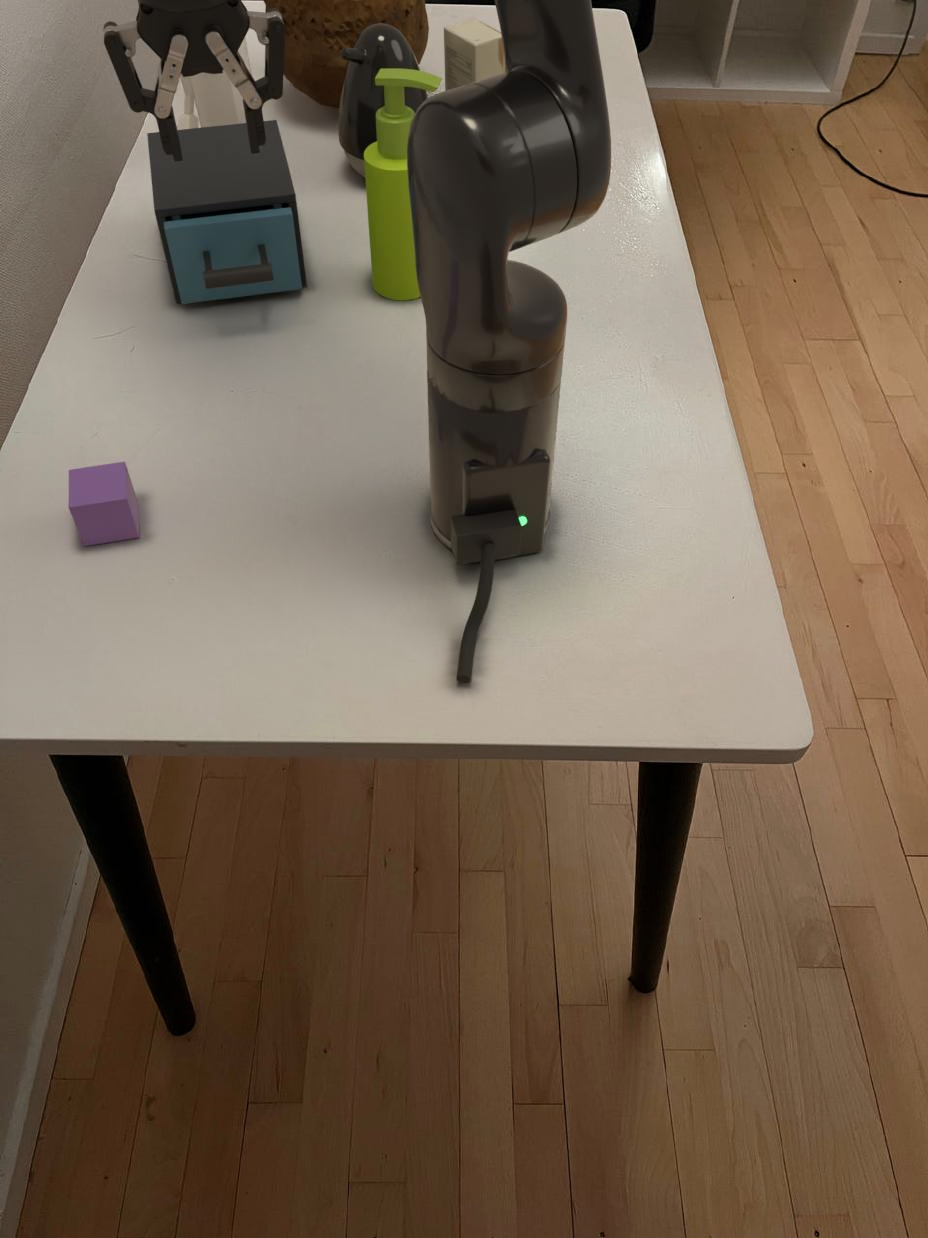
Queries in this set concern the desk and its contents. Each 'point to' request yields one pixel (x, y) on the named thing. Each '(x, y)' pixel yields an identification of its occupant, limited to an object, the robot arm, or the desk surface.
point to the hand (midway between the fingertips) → (216, 151)
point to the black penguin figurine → (371, 87)
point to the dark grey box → (220, 178)
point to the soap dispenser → (393, 187)
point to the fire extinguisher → (213, 98)
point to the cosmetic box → (472, 53)
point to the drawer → (233, 253)
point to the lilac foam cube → (103, 503)
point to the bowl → (339, 38)
